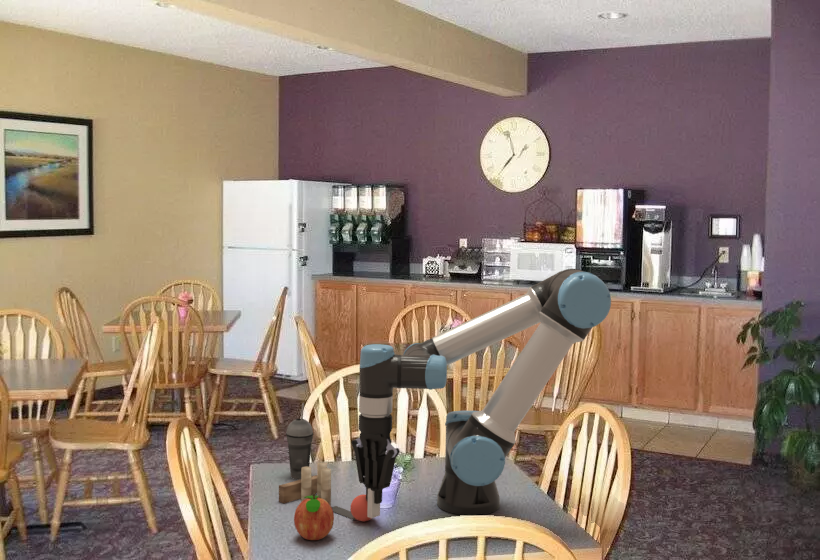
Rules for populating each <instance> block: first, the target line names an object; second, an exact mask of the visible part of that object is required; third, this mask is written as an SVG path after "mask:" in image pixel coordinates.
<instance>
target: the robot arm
mask: <svg viewBox="0 0 820 560" xmlns="http://www.w3.org/2000/svg"><path fill="white" fill-rule="evenodd" d="M611 305H612V297H611V293H610V289H609V288H608V286H607V284H606V283H604V281H603V279H601V278H599V277H598V276H597V275H595V274H593V273H591V272H589V271H584V270H581V269H578V268H566V269H563V270H561V271H558V272H556V273H555V274H552V275H550V276H549V277H547V278H545V279H544V280H542V281H540V282H537V283H535V284H534V285H532V286H530V287H529V288H528V290H527V292H526V293H524V294H523V295H521V296H519V297H517V298H514V299H512V300H509V301H508V302H505V303H503V304H502V305H499V306H497V307H495V308H493V309H490V310H489V311H487V312H484V313H482V314H479V315H478V316H476V317H474V318H472V319H470V320H469V319H468V320H467V321H465V322H463V323H461V324H459V325H457V326H454V327H452V328H450V329H448V330H445V331H443V332H441V333H440V334H437V335H435V336H433V337H432V338H429V339H426V340H425V341H423V342H417V343H412V344H410V345H409V346H408V347H407V348H406V349H405V350H404V352H403V354H397V353H395V352H394V351H395V349H394V347H393V346H392V345H388V344H379V343H378V344H376V343H371V344H367V345H366V344H365V345H364V346H363V347H362V348H361V349H360V354H359V355H360V357H359V358H360V359H359V394H358V395H359V398H358V401H359V402H358V412H359V413H360V414H359V415H358V430H359V432H360V433H359V437H358V438H356V439H352V440H351V441H350V443H351V445H352V448H353V451H354V456H355V463H356V470H357V476H358V481H359V483H360V484H363V485H364V487H365V495H366V501H368V508H367V517H369V518H372V519H375V518H377V517H379V516H381V503H382V502H383V489H387V488H389V487H390V485H391V483H392V482H391V481H392V479H393V477H392V476H393V473H394V467H395V465H396V459H397V457H398V455H399V453H400V449H399V448H398V447H396V448H395V447H394V445H392V439H391V435H390V434H391V432H392V430H393V415H392V413H393V395H394V393H393V392H394V389H415V390H418V389H419V390H429V391H430V390H435V389H436V390H437V389H439V390H441V389H444V388H445V387H446V385H447V379H448V377H447V376H448V365H449V366H450V365H451V364H454V363H456V362H458V361H460V360H462V359H464V358H467V357H470V355H473V354H475V353H477V352H480V351H481V350H484V349H486V348H488V347H490V346H492V345H495V344H497V343H499V342H500V341H503V340H505V339H508V338H510V337H512V336H514V335H516V334H518V333H520V332H523V331H525V330H527V329H529V328H531V327H533V326H535V325H537V324H538V326H537V327H536V329H535V331H534V332H533V333H532V335H531V336H530V338H529V339H528V341H527V343H526V344H525V345H524V347H523V349H522V350H521V351H520V353H519V354H518V356H517V358H516V359H515V360H514V362H513V364H512V365H511V367H510V368H509V370H508V371H507V373H506V374H505V376H504V377H503V379H502V380H501V381H500V383H499V385H498V386H497V388H496V390H495V391H494V392H493V394H492V395H491V396H490V398H489V400H488V401H487V402H486V404H485V406H484V407H483V409H482V410H455V411H450V412H448V413H447V414H446V418H445V422H444V426H445V453H444V455H445V456H444V458H445V459H444V475H443V478H442V480H441V484H440V487H439V489H438V492H437V499H436V501H437V503H436V504H437V506H438V507H439V509H440V510H442V511H445V512H447V513H450V514H455V515H460V516H465V515H464V514H483V515H488V514H491V513H494V512H495V511H497V510H499V508H500V506H501V504H500V503H501V502H500V501H501V496H500V494H499V490H498V487H497V483H496V480H498V479H499V477H500V476H501V475H502V473H503V471H504V468H505V465H506V458H507V456H508V455H509V453H510V452H511V450H512V448H513V447H514V445H516V444H515V443H516V442H517V439H516V435H515V432H516V430H517V429H518V427H519V425H520V424H521V423H522V421H523V419H525V417H526V415H527V414H528V412H529V411H530V409H531V408H532V406H533V405H534V403H535V401H536V400H537V399H538V397H539V396H540V395H541V392H542V391H543V390H544V388H545V387H546V385H547V384H548V382H549V381H550V379H551V377H552V376H553V375H554V373H555V371H556V370H557V369H558V367H559V366H560V364H561V363H562V361H563V360H564V359H565V357H566V356H567V354H568V353H569V350H571V348H572V346H573V344H576V343H580V342H584V341H585V339H586V337H587V336H588V335H589V334H590V332H591V330H592V329H593V328H594V327H596V326H598V325H599V324H601V323H602V322H603V321H604V320H606V318H607V316H608V314H609V312H610V310H611Z"/></svg>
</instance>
